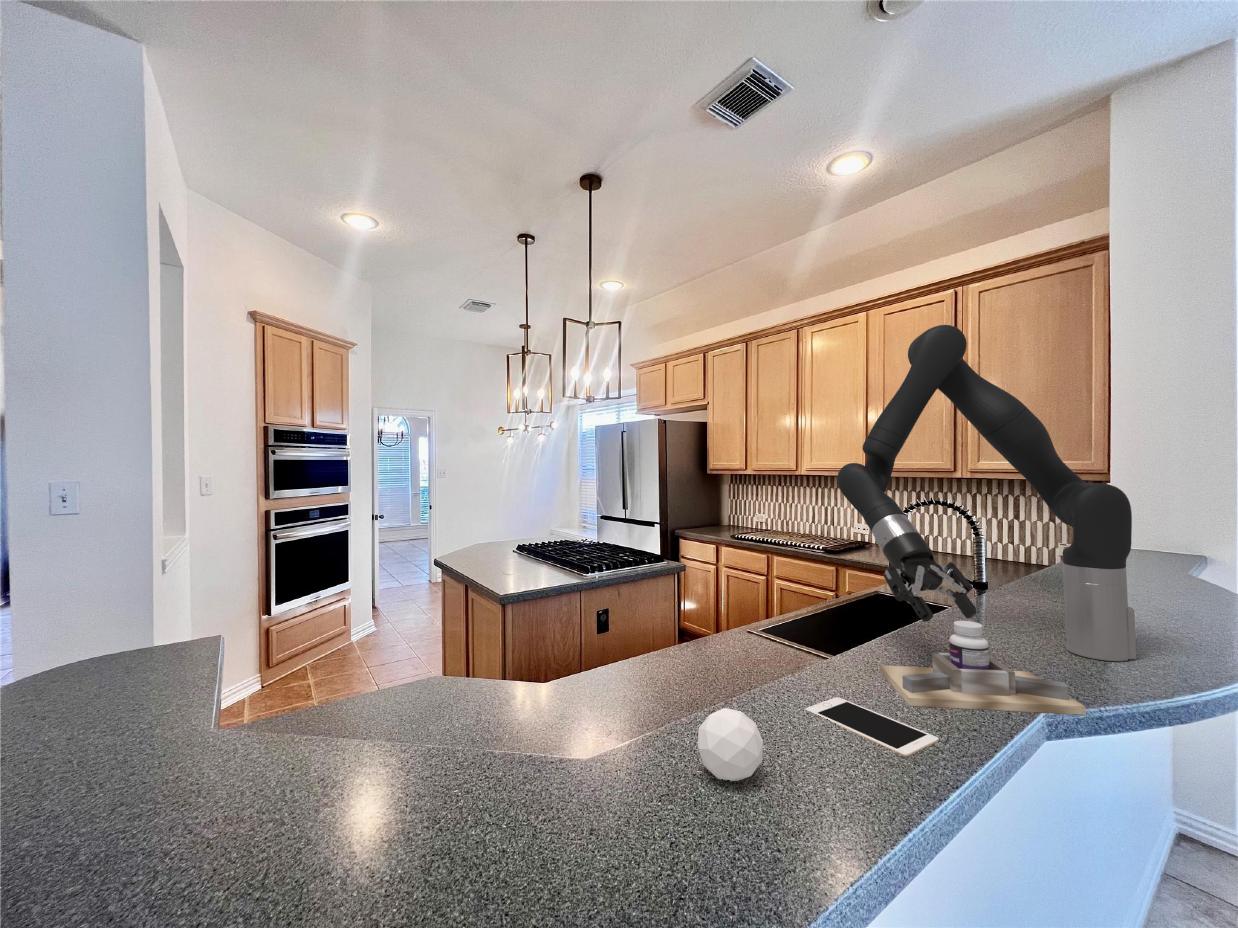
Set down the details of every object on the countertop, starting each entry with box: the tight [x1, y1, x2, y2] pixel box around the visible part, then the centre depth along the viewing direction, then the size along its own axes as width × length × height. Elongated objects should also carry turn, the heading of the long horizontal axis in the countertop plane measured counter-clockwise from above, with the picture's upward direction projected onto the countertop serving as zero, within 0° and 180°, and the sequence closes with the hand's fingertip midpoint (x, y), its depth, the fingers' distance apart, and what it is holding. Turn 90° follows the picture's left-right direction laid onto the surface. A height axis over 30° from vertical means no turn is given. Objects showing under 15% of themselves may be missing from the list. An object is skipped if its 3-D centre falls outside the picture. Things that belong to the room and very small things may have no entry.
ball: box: [697, 707, 764, 782], centre depth 63 cm, size 8×8×8 cm
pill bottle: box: [948, 620, 990, 670], centre depth 86 cm, size 5×5×10 cm
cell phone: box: [805, 697, 939, 757], centre depth 76 cm, size 8×16×1 cm, turn 30°
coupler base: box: [879, 652, 1087, 716], centre depth 86 cm, size 24×14×5 cm, turn 80°
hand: (950, 617), depth 90 cm, fingers open, 8 cm apart
